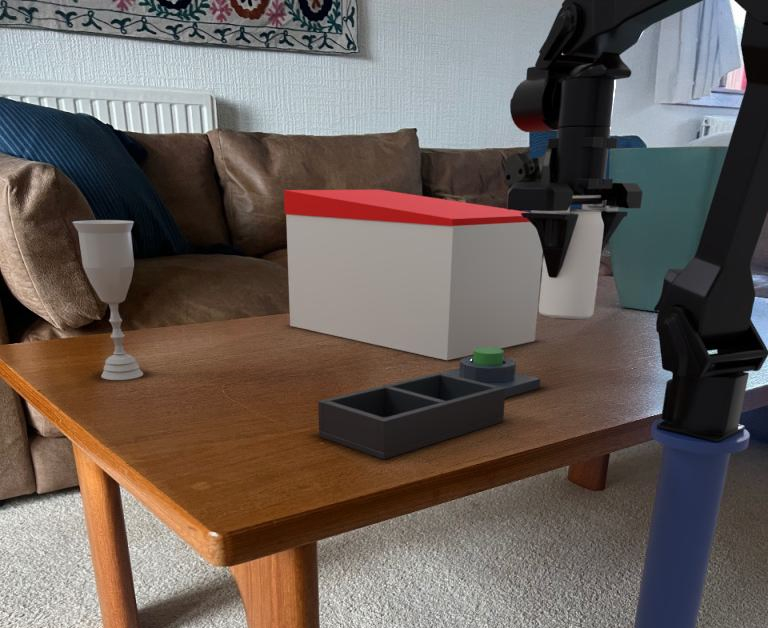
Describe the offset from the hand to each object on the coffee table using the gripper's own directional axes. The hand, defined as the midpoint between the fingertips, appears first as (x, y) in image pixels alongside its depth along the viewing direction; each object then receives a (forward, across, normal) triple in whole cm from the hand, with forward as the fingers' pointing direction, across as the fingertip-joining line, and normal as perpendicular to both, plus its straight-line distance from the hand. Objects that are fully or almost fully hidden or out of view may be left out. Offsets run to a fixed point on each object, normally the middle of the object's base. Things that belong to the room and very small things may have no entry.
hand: (569, 275), depth 92 cm
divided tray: (+13, +27, +2) cm, 30 cm away
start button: (+10, +9, -5) cm, 14 cm away
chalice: (+13, +39, -38) cm, 56 cm away
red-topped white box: (+13, -8, -35) cm, 38 cm away
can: (+5, 0, 0) cm, 5 cm away
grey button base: (+13, +9, -5) cm, 16 cm away
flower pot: (+13, -64, -21) cm, 69 cm away
